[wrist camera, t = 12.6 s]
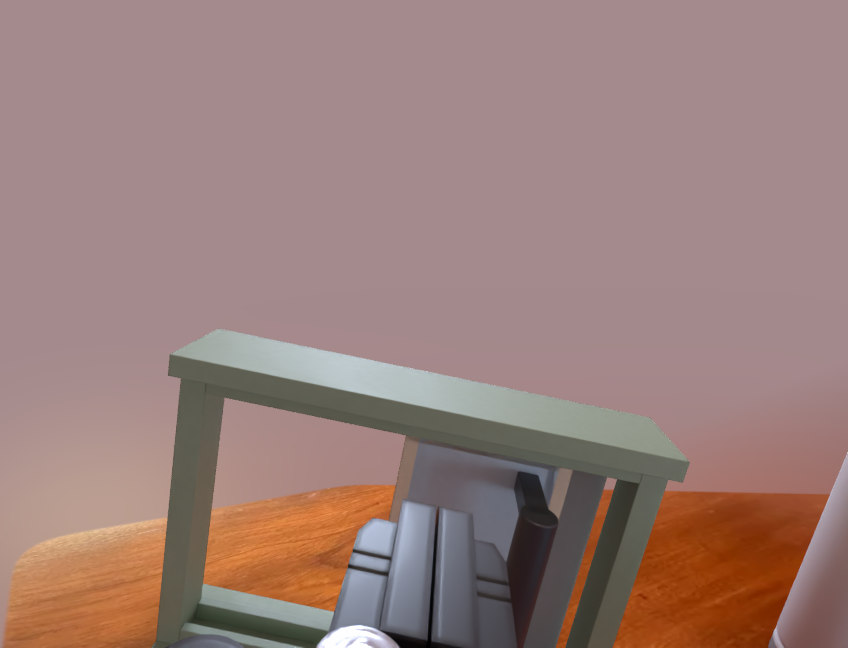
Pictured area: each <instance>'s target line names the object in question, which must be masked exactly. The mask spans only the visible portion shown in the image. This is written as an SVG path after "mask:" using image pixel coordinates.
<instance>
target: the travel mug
mask: <svg viewBox="0 0 848 648" xmlns="http://www.w3.org/2000/svg"><path fill="white" fill-rule="evenodd" d="M769 648H848V453H847V455H846V458H845V460H844V463H843V465H842V467H841V470H840V472H839V475H838V477H837V480H836V482H835V484H834V487H833V489H832V492H831V494H830V496H829V499H828V501H827V504H826V506H825V509H824V511H823V513H822V516H821V518H820V521H819V523H818V526H817V528H816V530H815V533H814V535H813V538H812V540H811V543H810V545H809V547H808V550H807V552H806V555H805V557H804V560H803V562H802V564H801V567H800V569H799V572H798V574H797V577H796V579H795V581H794V584H793V586H792V589H791V591H790V594H789V596H788V598H787V601H786V603H785V606H784V608H783V611H782V613H781V615H780V618H779V620H778V623H777V626H776V628H775V630H774V632H773V635H772V637H771V640H770V642H769Z"/></svg>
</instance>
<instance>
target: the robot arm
mask: <svg viewBox="0 0 848 648" xmlns="http://www.w3.org/2000/svg"><path fill="white" fill-rule="evenodd" d="M508 584H509V580H508V573H507V565H506V562H505V560H504V558H503V557H502V555H501V554H500V552H499V551H498V549H497V548H496V546H495V544H494V543H489V542H484V541H480V540H475V539H474V523H473V514H472V513H469V512H464V511H459V510H455V509H450V508H445V507H441V506H439V507H438V509H437V512H436V505H431V504H426V503H422V502H417V501H412V500H408V499H403V500H402V504H401V508H400V513H399V518H398V522H397V523H395V522H391V521H386V520H382V519H377V518H372V519H371V520H370V521H369V522H368V523H367V524H365V525H364V526H363V527H362V528H361V529H360V530H359V531H358V534H357V538H356V541H355V544H354V548H353V552H352V554H351V558H350V561H349V565H348V568H347V571H346V575H345V578H344V581H343V585H342V588H341V591H340V595H339V598H338V601H337V605H336V608H335V611H334V615H333V618H332V622H331V625H330V628H329V630H328V633H327V635H326V636H325V637H324V638H323V639H322V640H321V641H320V643H319V644H318V645H317V647H316V648H518V647H517V640H516V632H515V625H514V617H513V610H512V603H511V595H510V587H509V586H508ZM165 648H244V647H243V646H242V645H241V644H240V643H238V642H237V641H235V640H233V639H231V638H229V637H225V636H221V635H214V634H202V635H196V636H191V637H188V638H185V639H182V640H180V641H177V642H175V643H173V644H171V645H169V646H167V647H165Z"/></svg>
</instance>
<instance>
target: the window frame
mask: <svg viewBox="0 0 848 648" xmlns="http://www.w3.org/2000/svg"><path fill="white" fill-rule="evenodd" d="M168 376H173V377H178V378H181V384H180V395H179V405H178V415H177V416H178V417H177V427H176V436H175V447H174V457H173V468H172V479H171V489H170V500H169V510H168V521H167V531H166V542H165V552H164V563H163V573H162V584H161V594H160V605H159V615H158V626H157V637H156V642H155V643H154V645H153V646H152V648H165V647H167V646H169V645H171V644H173V643H175V642H177V641H180V640H182V639H185V638H188V637H191V636H196V635H202V634H214V635H221V636H225V637H229V638H231V639H233V640H235V641H237V642H238V643H240V644H241V645H242V646H243V647H244V648H316V647H317V645H318V644H319V643H320V641H321V640H322V639H323V638H324V637H325V636H326V635H327V633H328V630H329V628H330V625H331V622H332V618H333V615H334V612H332V611H327V610H323V609H318V608H313V607H309V606H304V605H299V604H295V603H290V602H285V601H281V600H276V599H271V598H267V597H262V596H257V595H253V594H248V593H243V592H239V591H234V590H229V589H225V588H220V587H215V586H211V585H206V584H203V578H204V569H205V561H206V552H207V544H208V535H209V526H210V518H211V509H212V500H213V492H214V483H215V474H216V466H217V465H216V464H217V456H218V447H219V440H220V431H221V423H222V414H223V405H224V397H225V398H229V399H234V400H239V401H244V402H249V403H254V404H258V405H263V406H268V407H273V408H277V409H283V410H287V411H292V412H297V413H302V414H307V415H312V416H316V417H321V418H326V419H330V420H335V421H340V422H345V423H350V424H354V425H359V426H365V427H369V428H374V429H378V430H383V431H388V432H393V433H398V434H402V435H407V436H412V437H417V438H422V439H426V440H431V441H436V442H441V443H446V444H450V445H455V446H460V447H465V448H470V449H474V450H479V451H484V452H489V453H494V454H498V455H503V456H508V457H513V458H518V459H522V460H527V461H532V462H537V463H542V464H546V465H551V466H556V467H561V468H566V469H570V470H573V473H572V476H571V479H570V483H569V486H568V490H567V493H566V497H565V500H564V504H563V507H562V511H561V514H560V518H559V524H558V528H557V531H556V535H555V538H554V542H553V545H552V549H551V552H550V556H549V559H548V563H547V566H546V570H545V573H544V577H543V580H542V584H541V587H540V591H539V594H538V598H537V601H536V605H535V608H534V612H533V615H532V619H531V622H530V626H529V629H528V633H527V636H526V640H525V643H524V647H523V648H556V644H557V641H558V638H559V634H560V631H561V628H562V624H563V621H564V618H565V615H566V611H567V608H568V605H569V601H570V598H571V595H572V591H573V588H574V585H575V582H576V578H577V575H578V572H579V568H580V565H581V562H582V558H583V555H584V552H585V548H586V545H587V542H588V539H589V535H590V532H591V529H592V525H593V522H594V519H595V515H596V512H597V509H598V506H599V502H600V499H601V496H602V492H603V489H604V486H605V482H606V479H607V477H609V478H614V479H617V482H616V485H615V488H614V492H613V495H612V498H611V501H610V505H609V508H608V511H607V514H606V518H605V521H604V524H603V527H602V531H601V534H600V537H599V540H598V544H597V547H596V550H595V553H594V557H593V560H592V563H591V566H590V570H589V573H588V576H587V579H586V583H585V586H584V589H583V592H582V596H581V599H580V602H579V605H578V608H577V612H576V615H575V618H574V621H573V625H572V628H571V631H570V634H569V638H568V641H567V644H566V647H565V648H612V647H613V644H614V641H615V638H616V635H617V632H618V629H619V626H620V623H621V620H622V617H623V614H624V611H625V608H626V605H627V602H628V599H629V596H630V593H631V590H632V587H633V584H634V581H635V578H636V575H637V572H638V569H639V566H640V563H641V560H642V557H643V554H644V551H645V548H646V545H647V542H648V539H649V536H650V533H651V530H652V527H653V524H654V521H655V518H656V515H657V512H658V509H659V506H660V503H661V500H662V497H663V494H664V491H665V488H666V485H667V482H668V480H673V481H678V482H683V481H684V478H685V475H686V472H687V469H688V466H689V463H690V462H689V461H688V460H687V458H686V457H685V456H684V455H683V454H682V453H681V452H680V451H679V450H678V448H677V447H676V446H675V445H674V444H673V443H672V442H671V441H670V439H669V438H668V437H667V436H666V435H665V434H664V433H663V432H662V431H661V430H660V428H659V427H658V426H657V425H656V424H655V423H654V422H653V420H652V419H651V418H650V417H644V416H639V415H635V414H630V413H625V412H620V411H615V410H610V409H606V408H601V407H596V406H591V405H586V404H581V403H576V402H572V401H567V400H562V399H557V398H552V397H548V396H543V395H538V394H533V393H528V392H523V391H519V390H513V389H508V388H504V387H499V386H494V385H489V384H484V383H480V382H475V381H470V380H465V379H460V378H455V377H450V376H446V375H441V374H436V373H431V372H426V371H421V370H417V369H412V368H407V367H402V366H397V365H392V364H388V363H383V362H377V361H373V360H368V359H363V358H358V357H354V356H348V355H344V354H339V353H334V352H329V351H324V350H320V349H315V348H310V347H305V346H300V345H295V344H290V343H285V342H281V341H276V340H271V339H266V338H261V337H256V336H252V335H247V334H241V333H237V332H232V331H227V330H223V329H217V330H215V331H213V332H212V333H210V334H208V335H206V336H204V337H202V338H200V339H198V340H196V341H194V342H193V343H191V344H189V345H187V346H185V347H183V348H181V349H179V350H177V351H175V352H174V353H172V354H170V360H169V370H168Z"/></svg>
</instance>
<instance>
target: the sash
mask: <svg viewBox="0 0 848 648" xmlns="http://www.w3.org/2000/svg"><path fill="white" fill-rule="evenodd" d="M572 473H573V470H570V469H566V468H561V467H556V466H551V465H546V464H542V463H537V462H532V461H527V460H522V459H518V458H513V457H508V456H503V455H498V454H494V453H489V452H484V451H479V450H474V449H470V448H465V447H460V446H455V445H450V444H446V443H441V442H436V441H431V440H426V439H422V438H417V437H412V436H407V435H406V438H405V443H404V448H403V453H402V458H401V463H400V467H399V472H398V477H397V483H396V487H395V492H394V497H393V502H392V507H391V512H390V517H389V521H391V522H395V523H397V522H398V518H399V513H400V508H401V504H402V500H403V499H408V500H412V501H417V502H422V503H426V504H431V505H436V512H437V509H438V507H439V506H441V507H445V508H450V509H455V510H459V511H464V512H469V513H472V514H473V523H474V539H475V540H480V541H484V542H489V543H494V544H495V546H496V548H497V549H498V551H499V552H500V554H501V555H502V557H503V558H504V560H505V562H506V565H507V573H508V580H509V584H508V586H509V587H510V595H511V603H512V610H513V617H514V625H515V632H516V640H517V647H518V648H523V647H524V643H525V640H526V636H527V633H528V629H529V626H530V622H531V619H532V615H533V612H534V608H535V605H536V601H537V598H538V594H539V591H540V587H541V584H542V580H543V577H544V573H545V570H546V566H547V563H548V559H549V556H550V552H551V549H552V545H553V542H554V538H555V535H556V531H557V528H558V524H559V518H560V514H561V511H562V507H563V504H564V500H565V497H566V493H567V490H568V486H569V483H570V479H571V476H572Z"/></svg>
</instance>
